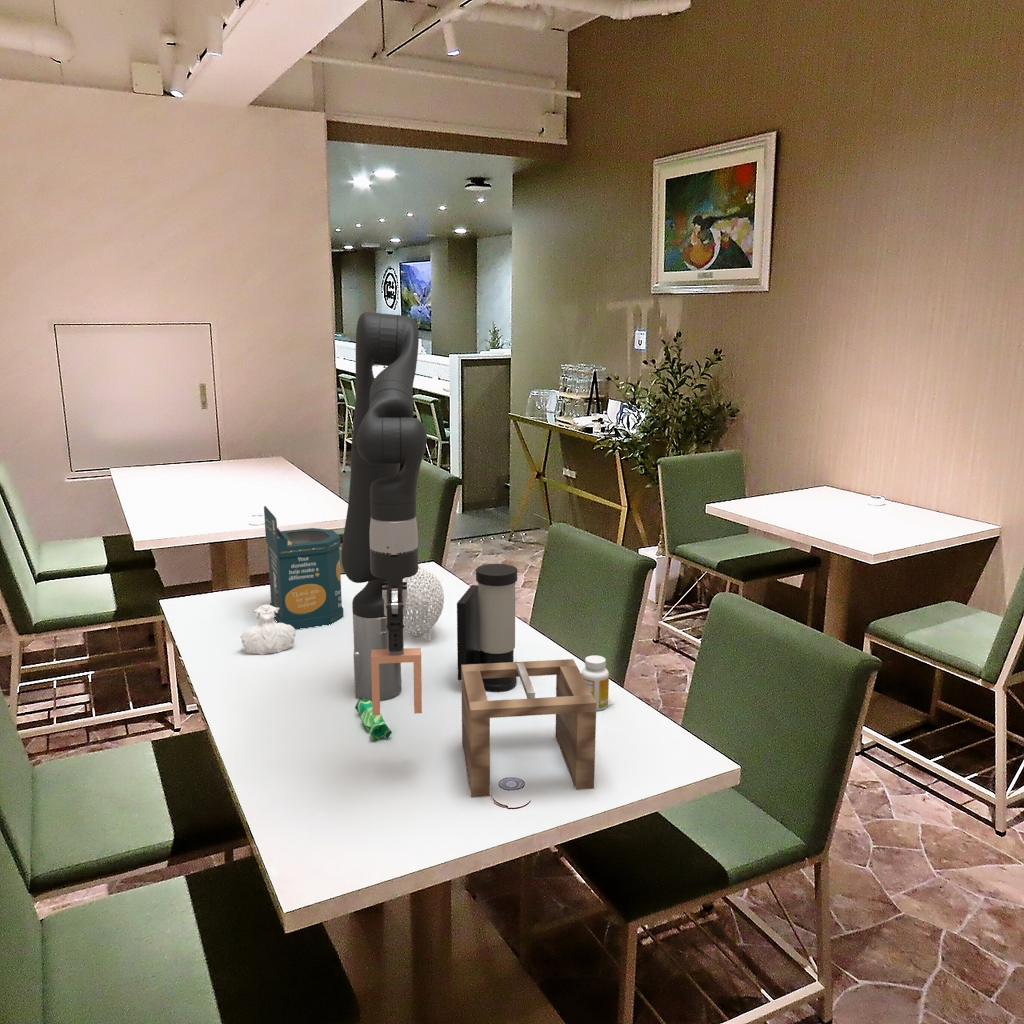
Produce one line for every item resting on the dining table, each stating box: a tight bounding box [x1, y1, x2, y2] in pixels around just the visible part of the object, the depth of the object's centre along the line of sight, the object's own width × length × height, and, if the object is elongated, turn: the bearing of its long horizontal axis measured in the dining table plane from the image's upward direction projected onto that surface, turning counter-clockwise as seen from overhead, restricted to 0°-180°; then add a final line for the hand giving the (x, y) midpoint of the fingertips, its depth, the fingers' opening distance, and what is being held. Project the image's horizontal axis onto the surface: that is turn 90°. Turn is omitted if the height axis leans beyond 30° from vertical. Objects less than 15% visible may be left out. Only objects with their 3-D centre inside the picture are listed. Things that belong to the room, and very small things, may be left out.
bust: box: [240, 603, 296, 655], centre depth 199 cm, size 12×8×11 cm
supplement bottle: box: [580, 655, 610, 712], centre depth 171 cm, size 5×5×10 cm
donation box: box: [263, 505, 345, 630], centre depth 218 cm, size 16×16×28 cm
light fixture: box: [456, 563, 518, 693], centre depth 179 cm, size 12×11×25 cm
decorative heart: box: [403, 563, 445, 643], centre depth 206 cm, size 18×11×17 cm, turn 29°
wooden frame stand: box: [460, 658, 597, 798], centre depth 148 cm, size 20×18×16 cm
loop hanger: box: [371, 621, 423, 716], centre depth 143 cm, size 8×3×15 cm, turn 98°
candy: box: [354, 698, 392, 742], centre depth 163 cm, size 12×3×4 cm
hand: (395, 647), depth 142 cm, fingers closed on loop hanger, 2 cm apart
